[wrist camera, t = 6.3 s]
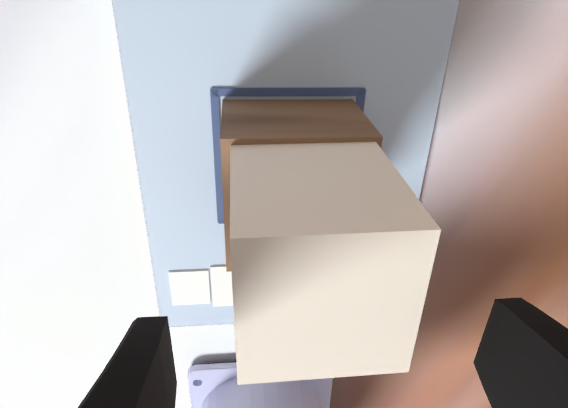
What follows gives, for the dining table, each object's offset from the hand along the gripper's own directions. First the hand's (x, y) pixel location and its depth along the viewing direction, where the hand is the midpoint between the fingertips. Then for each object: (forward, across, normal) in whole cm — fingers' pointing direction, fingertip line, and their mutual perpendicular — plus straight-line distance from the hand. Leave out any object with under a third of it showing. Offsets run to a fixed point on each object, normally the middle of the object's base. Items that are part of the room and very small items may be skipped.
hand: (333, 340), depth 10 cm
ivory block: (+6, 0, 0) cm, 6 cm away
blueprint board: (+10, 0, 0) cm, 10 cm away
